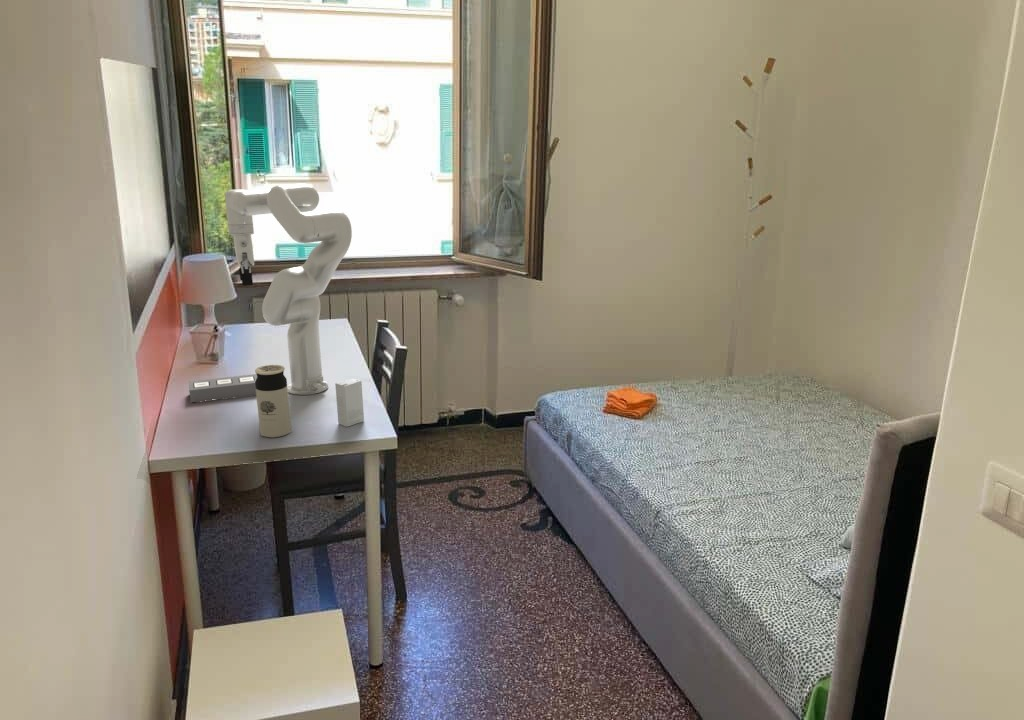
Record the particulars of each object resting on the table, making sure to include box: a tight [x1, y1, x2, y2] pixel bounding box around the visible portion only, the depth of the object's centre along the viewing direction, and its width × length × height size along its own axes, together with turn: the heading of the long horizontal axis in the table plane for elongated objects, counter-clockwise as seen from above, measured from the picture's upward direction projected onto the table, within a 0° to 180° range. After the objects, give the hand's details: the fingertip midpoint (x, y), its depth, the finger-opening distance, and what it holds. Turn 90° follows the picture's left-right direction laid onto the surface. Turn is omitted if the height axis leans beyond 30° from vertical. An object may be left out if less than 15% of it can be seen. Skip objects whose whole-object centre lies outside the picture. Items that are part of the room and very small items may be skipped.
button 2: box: [239, 377, 254, 382], centre depth 240 cm, size 4×4×3 cm
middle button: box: [217, 379, 232, 385], centre depth 238 cm, size 4×4×3 cm
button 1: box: [194, 382, 209, 388], centre depth 236 cm, size 4×4×3 cm
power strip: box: [188, 373, 257, 403], centre depth 238 cm, size 21×9×4 cm, turn 112°
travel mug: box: [254, 364, 292, 438], centre depth 206 cm, size 8×8×18 cm
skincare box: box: [335, 377, 365, 428], centre depth 214 cm, size 6×4×12 cm
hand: (246, 282), depth 252 cm, fingers open, 9 cm apart
